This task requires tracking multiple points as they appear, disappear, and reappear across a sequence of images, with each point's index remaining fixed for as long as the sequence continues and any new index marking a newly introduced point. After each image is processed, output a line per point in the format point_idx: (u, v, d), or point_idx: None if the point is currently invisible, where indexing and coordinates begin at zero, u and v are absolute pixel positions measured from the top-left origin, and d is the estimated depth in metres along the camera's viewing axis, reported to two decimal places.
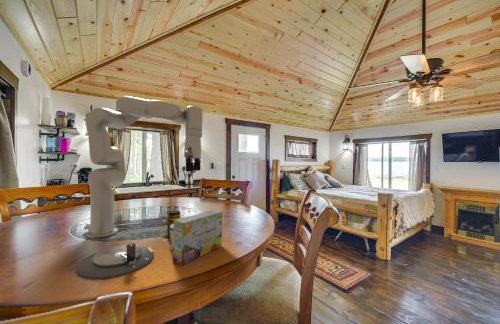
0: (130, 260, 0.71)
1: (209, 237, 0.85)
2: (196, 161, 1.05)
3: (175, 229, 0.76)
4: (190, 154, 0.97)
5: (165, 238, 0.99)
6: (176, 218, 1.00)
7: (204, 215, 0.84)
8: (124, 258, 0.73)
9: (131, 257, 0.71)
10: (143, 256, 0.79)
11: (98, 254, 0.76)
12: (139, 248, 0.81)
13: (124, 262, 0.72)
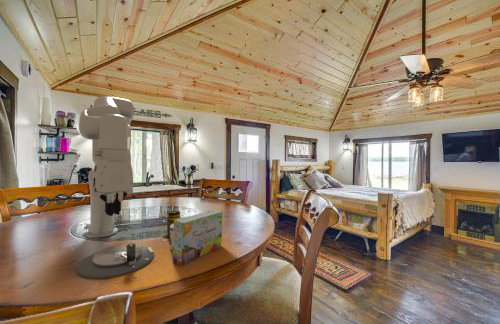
0: (130, 260, 0.71)
1: (209, 237, 0.85)
2: (110, 199, 0.67)
3: (175, 229, 0.76)
4: None
5: (165, 238, 0.99)
6: (176, 218, 1.00)
7: (204, 215, 0.84)
8: (124, 258, 0.73)
9: (131, 257, 0.71)
10: (143, 256, 0.79)
11: (98, 254, 0.76)
12: (139, 248, 0.81)
13: (124, 262, 0.72)
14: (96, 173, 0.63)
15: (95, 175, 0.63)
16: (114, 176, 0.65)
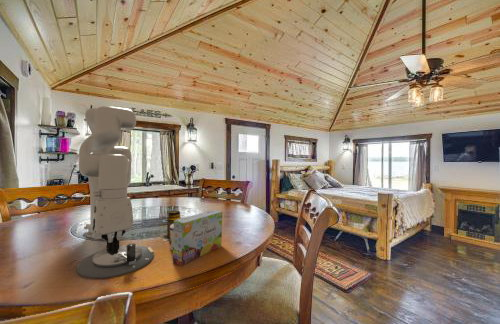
0: (130, 260, 0.71)
1: (209, 237, 0.85)
2: None
3: (175, 229, 0.76)
4: None
5: (165, 238, 0.99)
6: (176, 218, 1.00)
7: (204, 215, 0.84)
8: (124, 258, 0.73)
9: (131, 257, 0.71)
10: (143, 256, 0.79)
11: (98, 254, 0.76)
12: (139, 248, 0.81)
13: (124, 262, 0.72)
14: (96, 214, 0.62)
15: (95, 216, 0.63)
16: (114, 216, 0.65)
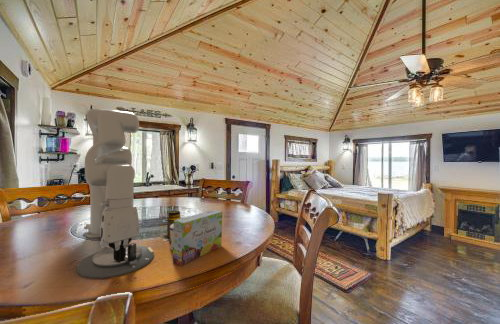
0: (131, 260, 0.71)
1: (209, 237, 0.85)
2: (118, 245, 0.69)
3: (175, 229, 0.76)
4: None
5: (165, 238, 0.99)
6: (176, 218, 1.00)
7: (204, 215, 0.84)
8: (125, 258, 0.73)
9: (132, 257, 0.71)
10: (143, 256, 0.79)
11: (97, 255, 0.75)
12: (139, 248, 0.81)
13: (125, 262, 0.72)
14: (103, 224, 0.64)
15: (102, 225, 0.65)
16: (121, 225, 0.67)
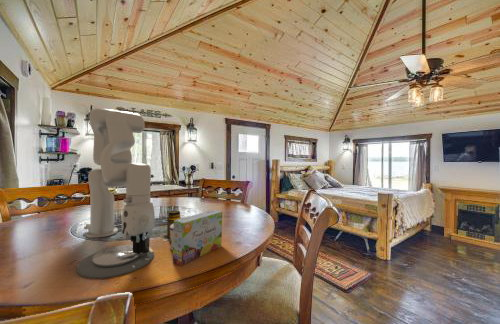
0: (148, 251, 0.78)
1: (209, 237, 0.85)
2: None
3: (175, 229, 0.76)
4: None
5: (165, 238, 0.99)
6: (176, 218, 1.00)
7: (204, 215, 0.84)
8: None
9: (148, 248, 0.78)
10: (143, 256, 0.79)
11: (99, 259, 0.72)
12: (131, 245, 0.84)
13: (139, 255, 0.77)
14: (127, 218, 0.70)
15: (126, 220, 0.70)
16: (142, 219, 0.73)
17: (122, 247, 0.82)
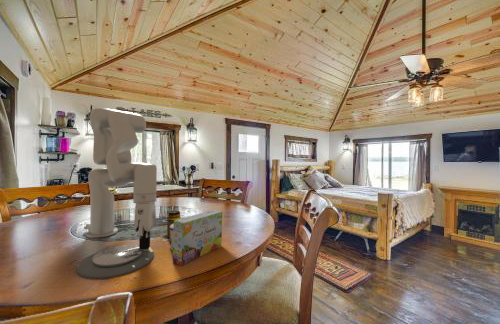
0: None
1: (209, 237, 0.85)
2: None
3: (175, 229, 0.76)
4: None
5: (165, 238, 0.99)
6: (176, 218, 1.00)
7: (204, 215, 0.84)
8: (138, 248, 0.81)
9: None
10: (143, 256, 0.79)
11: (108, 261, 0.71)
12: (120, 246, 0.83)
13: (141, 250, 0.81)
14: (144, 215, 0.74)
15: (142, 217, 0.74)
16: (152, 215, 0.78)
17: (112, 249, 0.80)
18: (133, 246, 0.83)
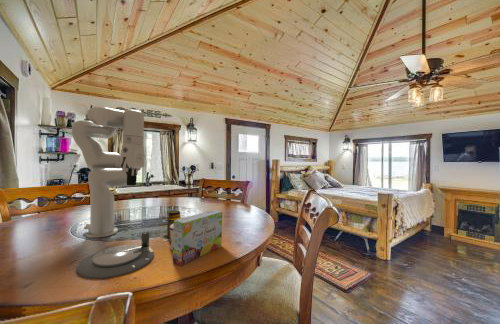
0: (148, 245, 0.84)
1: (209, 237, 0.85)
2: None
3: (175, 229, 0.76)
4: None
5: (165, 238, 0.99)
6: (176, 218, 1.00)
7: (204, 215, 0.84)
8: (138, 248, 0.81)
9: (148, 242, 0.84)
10: (143, 256, 0.79)
11: (108, 261, 0.71)
12: (120, 246, 0.83)
13: (141, 250, 0.81)
14: (127, 153, 0.85)
15: (126, 155, 0.85)
16: (137, 156, 0.89)
17: (112, 249, 0.80)
18: (133, 246, 0.83)
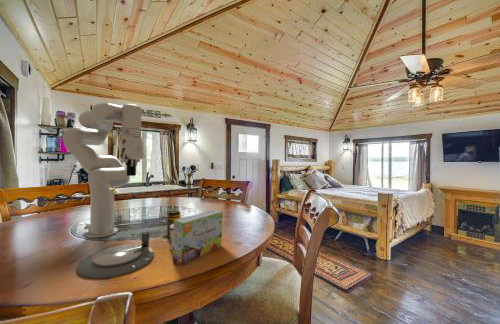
0: (148, 245, 0.84)
1: (209, 237, 0.85)
2: None
3: (175, 229, 0.76)
4: None
5: (165, 238, 0.99)
6: (176, 218, 1.00)
7: (204, 215, 0.84)
8: (138, 248, 0.81)
9: (148, 242, 0.84)
10: (143, 256, 0.79)
11: (108, 261, 0.71)
12: (120, 246, 0.83)
13: (141, 250, 0.81)
14: (126, 145, 0.89)
15: (125, 146, 0.89)
16: (136, 148, 0.93)
17: (112, 249, 0.80)
18: (133, 246, 0.83)
